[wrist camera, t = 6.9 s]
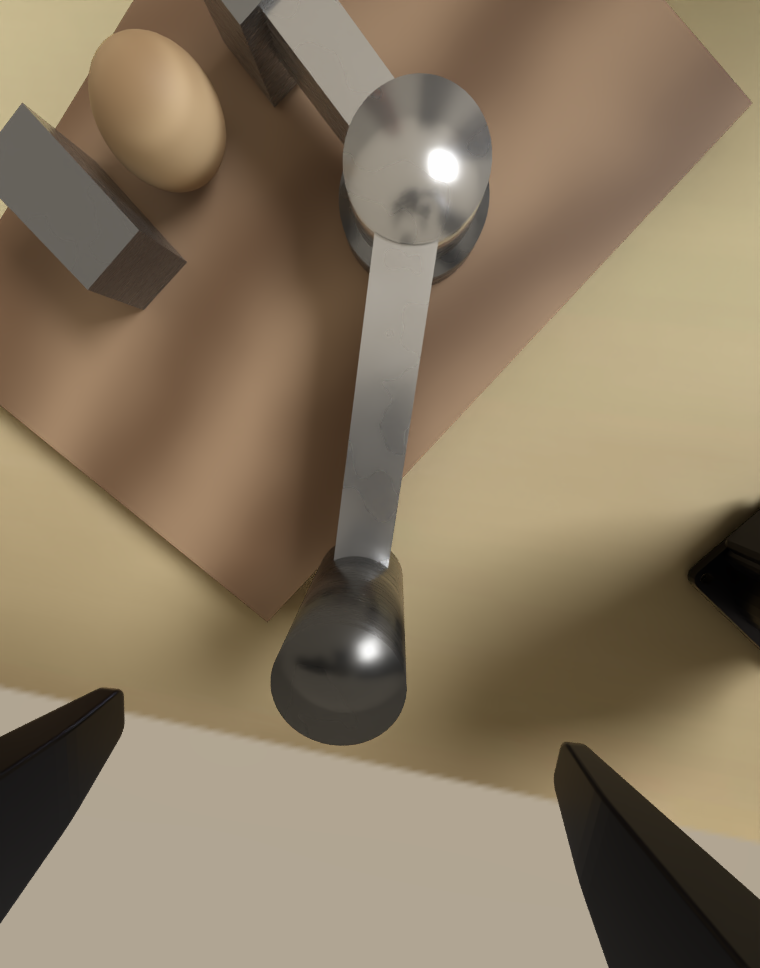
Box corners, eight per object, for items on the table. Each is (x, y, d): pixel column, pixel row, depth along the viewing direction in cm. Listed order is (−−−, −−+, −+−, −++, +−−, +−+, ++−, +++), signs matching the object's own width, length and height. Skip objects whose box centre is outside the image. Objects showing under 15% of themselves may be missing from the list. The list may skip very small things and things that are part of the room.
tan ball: (264, 148, 14) (219, 61, 10) (201, 235, 14) (139, 183, 11) (180, 66, 13) (104, -52, 10) (119, 160, 14) (27, 79, 11)
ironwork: (482, 127, 13) (504, 57, 11) (482, 287, 14) (503, 261, 12) (43, 165, 14) (-42, 108, 11) (71, 315, 15) (-1, 295, 12)
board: (723, 127, 14) (752, 102, 13) (275, 608, 19) (267, 621, 17) (358, -292, 12) (354, -364, 11) (-43, 347, 17) (-76, 343, 16)
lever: (228, -44, 13) (27, -576, 6) (509, -7, 12) (645, -501, 6) (195, 580, 17) (58, 703, 10) (405, 611, 17) (412, 757, 10)
